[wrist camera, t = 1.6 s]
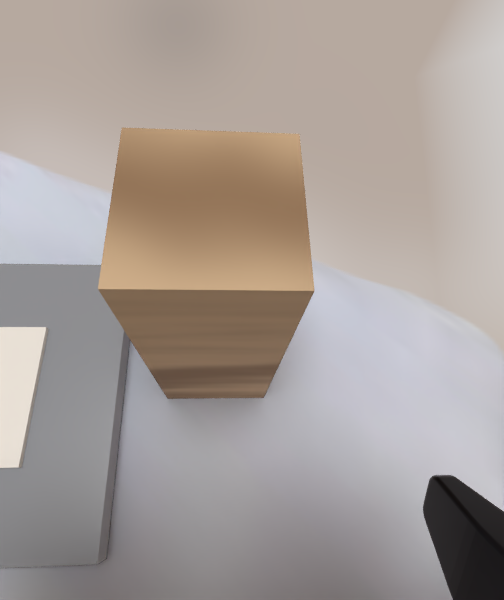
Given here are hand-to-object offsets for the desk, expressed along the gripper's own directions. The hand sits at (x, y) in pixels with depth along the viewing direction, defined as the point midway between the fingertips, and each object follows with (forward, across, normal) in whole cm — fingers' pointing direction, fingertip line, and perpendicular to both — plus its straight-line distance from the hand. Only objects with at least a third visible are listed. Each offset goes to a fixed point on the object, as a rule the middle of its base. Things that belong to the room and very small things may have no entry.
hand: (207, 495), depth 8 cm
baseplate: (+12, +12, +6) cm, 18 cm away
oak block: (+14, 0, +4) cm, 14 cm away
